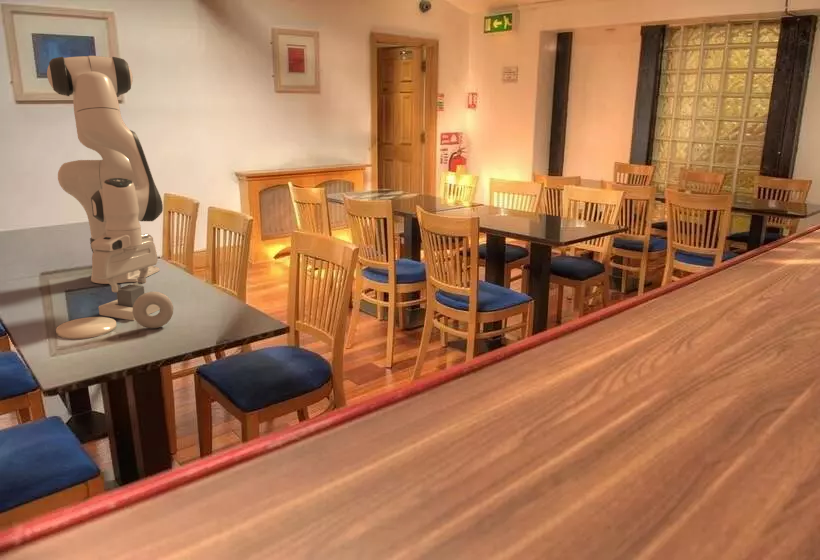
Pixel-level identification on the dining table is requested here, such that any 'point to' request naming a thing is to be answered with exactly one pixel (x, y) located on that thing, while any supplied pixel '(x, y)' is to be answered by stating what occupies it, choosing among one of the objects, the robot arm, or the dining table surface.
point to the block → (129, 295)
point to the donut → (150, 299)
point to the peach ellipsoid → (86, 327)
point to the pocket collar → (122, 310)
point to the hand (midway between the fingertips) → (129, 287)
